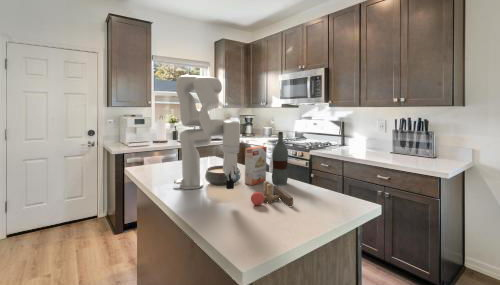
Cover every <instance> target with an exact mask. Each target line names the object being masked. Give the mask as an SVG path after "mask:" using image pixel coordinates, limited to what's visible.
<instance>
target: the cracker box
mask: <svg viewBox="0 0 500 285" xmlns="http://www.w3.org/2000/svg"><path fill="white" fill-rule="evenodd" d="M267 151H268V148H267V146H263V145H258V146H257V145H256V146H251V147H247V148H246V147H245V150H244V156H245V157H244V184H245V185H249V186H254V185H258V184H260V183H262V182H263V183H264V181H266V180H267V179H266V178H267V153H268V152H267Z"/></svg>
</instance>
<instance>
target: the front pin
mask: <svg viewBox="0 0 500 285" xmlns="http://www.w3.org/2000/svg"><path fill="white" fill-rule="evenodd" d="M263 196H264V195H263ZM273 200H277V201H280V199H279V195H275V194H274V195H272V202H274V201H273ZM264 201H266V202H267V196H264Z"/></svg>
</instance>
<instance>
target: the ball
mask: <svg viewBox="0 0 500 285" xmlns="http://www.w3.org/2000/svg"><path fill="white" fill-rule="evenodd" d="M263 201H264V193H263V192H260V191H254V192H253V193H251V195H250V202H251V203H252V205H255V206H260V205H262V204H263V203H264V202H263Z"/></svg>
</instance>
